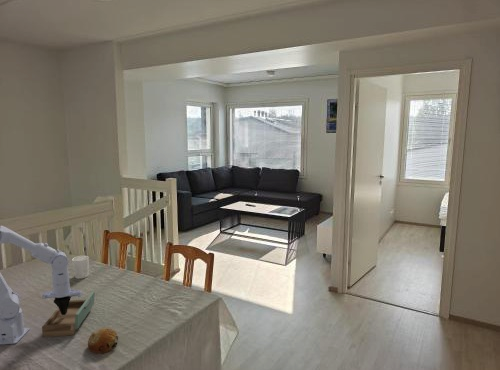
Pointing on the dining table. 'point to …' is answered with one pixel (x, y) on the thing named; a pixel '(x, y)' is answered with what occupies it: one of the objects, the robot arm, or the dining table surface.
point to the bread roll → (102, 340)
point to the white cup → (81, 266)
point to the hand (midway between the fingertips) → (64, 313)
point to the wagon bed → (63, 321)
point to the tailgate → (84, 310)
